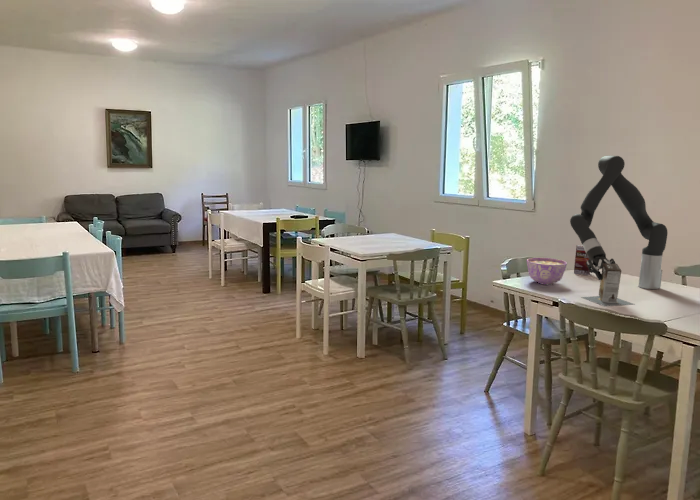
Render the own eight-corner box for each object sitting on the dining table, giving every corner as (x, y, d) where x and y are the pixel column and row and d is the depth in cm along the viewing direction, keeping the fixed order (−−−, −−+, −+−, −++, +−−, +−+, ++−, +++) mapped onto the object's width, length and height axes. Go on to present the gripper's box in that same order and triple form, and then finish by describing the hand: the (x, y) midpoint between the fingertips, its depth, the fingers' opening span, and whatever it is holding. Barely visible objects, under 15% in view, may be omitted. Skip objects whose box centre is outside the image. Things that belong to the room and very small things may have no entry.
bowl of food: (543, 288, 278) (545, 266, 276) (516, 280, 296) (518, 258, 294) (574, 285, 286) (575, 263, 284) (546, 277, 304) (547, 256, 302)
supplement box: (573, 273, 315) (576, 246, 312) (573, 272, 319) (576, 244, 317) (590, 275, 312) (592, 247, 309) (590, 273, 316) (592, 246, 314)
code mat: (609, 295, 267) (609, 295, 267) (634, 304, 251) (634, 304, 251) (581, 297, 262) (581, 297, 262) (604, 306, 247) (604, 306, 247)
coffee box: (597, 294, 262) (602, 262, 257) (612, 295, 260) (617, 263, 255) (602, 302, 253) (606, 269, 248) (617, 303, 252) (622, 270, 247)
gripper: (585, 245, 260) (600, 275, 251) (611, 244, 264) (626, 273, 255) (577, 255, 266) (591, 284, 257) (602, 254, 270) (617, 282, 261)
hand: (608, 278), depth 256 cm, fingers closed on coffee box, 8 cm apart
